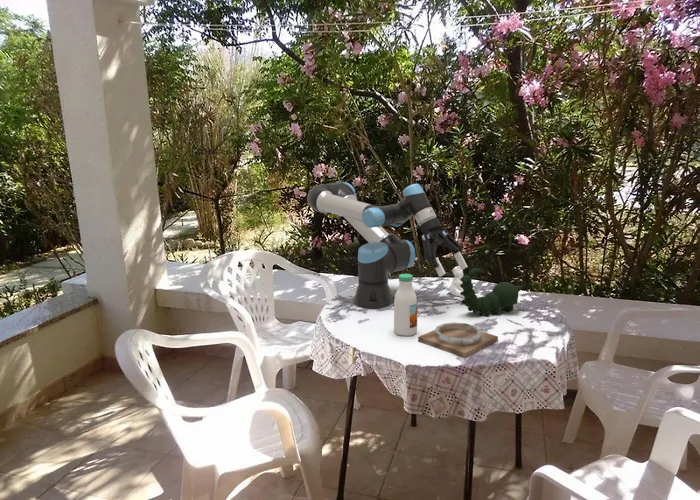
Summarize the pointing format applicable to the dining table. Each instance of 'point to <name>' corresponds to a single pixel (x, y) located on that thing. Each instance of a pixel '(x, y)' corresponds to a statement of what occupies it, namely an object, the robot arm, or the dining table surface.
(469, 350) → the plate
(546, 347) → the dining table surface
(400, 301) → the milk bottle
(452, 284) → the seated beast figurine
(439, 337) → the metal collar
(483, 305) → the toy figurine
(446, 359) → the dining table surface
